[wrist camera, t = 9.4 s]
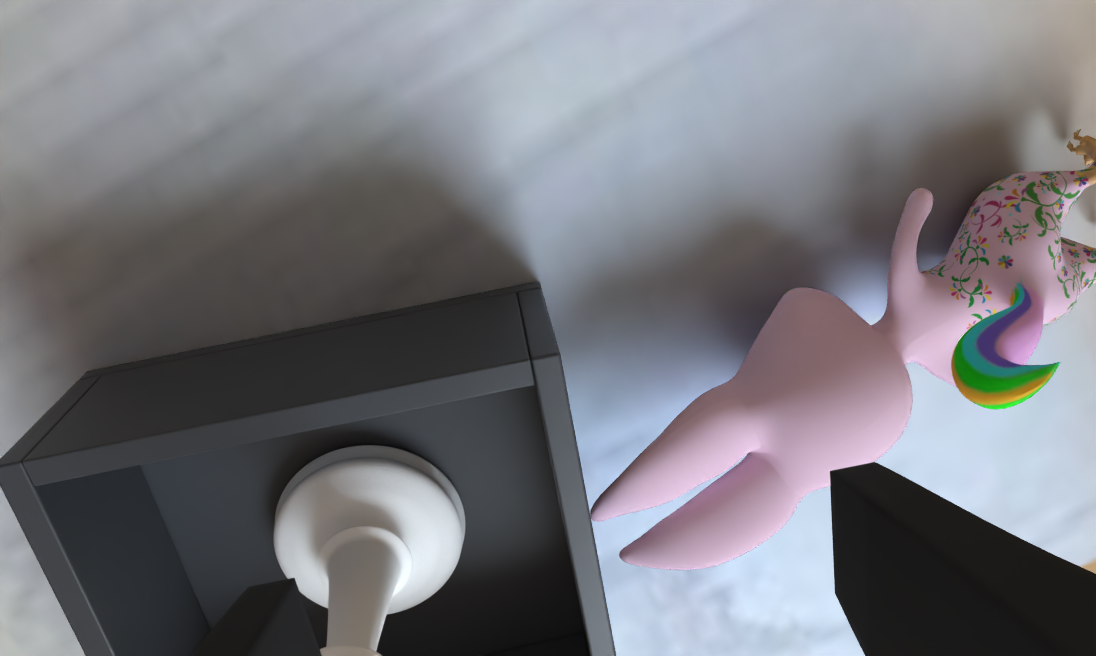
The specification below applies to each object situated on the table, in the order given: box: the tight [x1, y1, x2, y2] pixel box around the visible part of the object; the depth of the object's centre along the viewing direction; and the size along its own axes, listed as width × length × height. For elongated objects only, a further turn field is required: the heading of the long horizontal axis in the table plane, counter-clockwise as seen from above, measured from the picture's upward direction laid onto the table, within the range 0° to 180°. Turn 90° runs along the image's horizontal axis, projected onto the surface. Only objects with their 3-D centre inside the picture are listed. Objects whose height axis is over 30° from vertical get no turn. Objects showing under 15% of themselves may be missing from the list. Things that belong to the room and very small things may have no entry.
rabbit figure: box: [590, 129, 1096, 570], centre depth 19 cm, size 6×6×15 cm
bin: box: [0, 282, 616, 656], centre depth 20 cm, size 11×11×4 cm
